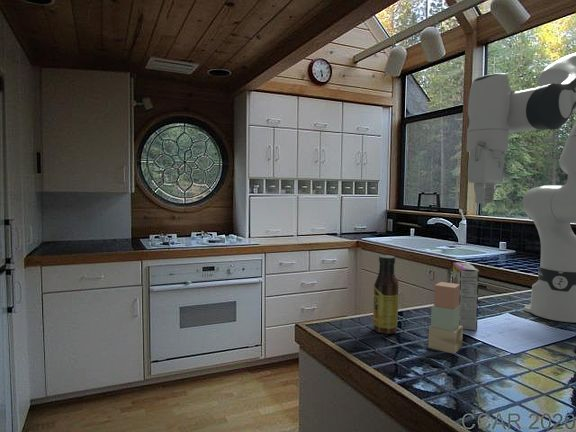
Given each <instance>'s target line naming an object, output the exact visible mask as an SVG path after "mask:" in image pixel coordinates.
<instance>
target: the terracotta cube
mask: <svg viewBox="0 0 576 432" xmlns="http://www.w3.org/2000/svg"><path fill="white" fill-rule="evenodd" d="M433 297H434V299H433V300H434V301H433V303H434V304H433V305H434V306H436V307H442V308H448V309H455V308H457V307H458V306H459V300H460V284H453V282H445V281H440V282H438V283H436V284H435V285H434V296H433Z"/></svg>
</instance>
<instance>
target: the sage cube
mask: <svg viewBox="0 0 576 432" xmlns="http://www.w3.org/2000/svg"><path fill="white" fill-rule="evenodd" d="M430 315H431V316H430V326H431V327H434V328H438V329H443V330H448V331H452V332H453V331H454V330H455V329H456V328H458V327H459V320H460V305H459V306H458V307H457V308H455V309H448V308H442V307H436V306H434V304H433V305H431V312H430Z"/></svg>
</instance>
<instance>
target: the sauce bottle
mask: <svg viewBox="0 0 576 432" xmlns="http://www.w3.org/2000/svg"><path fill="white" fill-rule="evenodd" d="M378 262H379V269H378V274H377V277H376V280H375V282H374V284H373V311H372V312H373V315H372V316H373V319H372V324H373V329H374V330H375V332H377V333H380V334H387V335H389V334H390V335H391V334H394V333H396V332H397V331H398V321H399V319H398V318H399V281H398V278H397V277H396V275H395V263H396V257H395V255H394V256H393V255H387V254H383V255H379V256H378Z"/></svg>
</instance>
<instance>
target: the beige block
mask: <svg viewBox="0 0 576 432" xmlns="http://www.w3.org/2000/svg"><path fill="white" fill-rule="evenodd" d="M428 327H429V328H428V344H427V346H428V349H432V350H437V351H440V352H445V353H449V354H454V355H455V354H456V353H457V352H458V351H459V350H460V349H461V348H462V347H463V336H464V335H463V331H464V330H463V326H459V327H458V328H456V329H455V330H454V331H453V332H452V331H448V330H443V329H438V328H434V327H431V325H430V326H428Z"/></svg>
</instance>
